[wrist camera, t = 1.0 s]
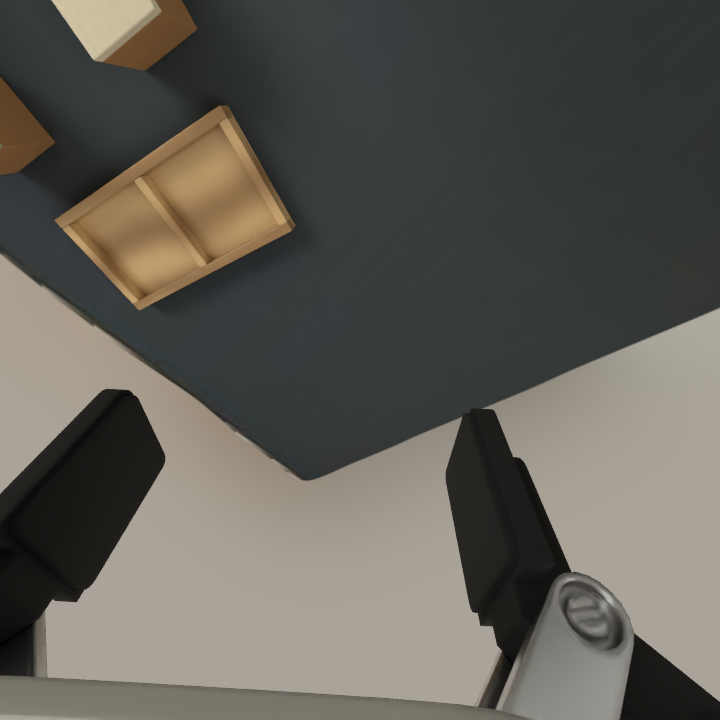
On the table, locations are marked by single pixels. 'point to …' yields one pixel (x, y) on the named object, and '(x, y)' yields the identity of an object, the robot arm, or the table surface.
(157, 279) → the wooden divided tray
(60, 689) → the robot arm
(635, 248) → the table surface
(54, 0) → the pad cream
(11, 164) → the pad sage
